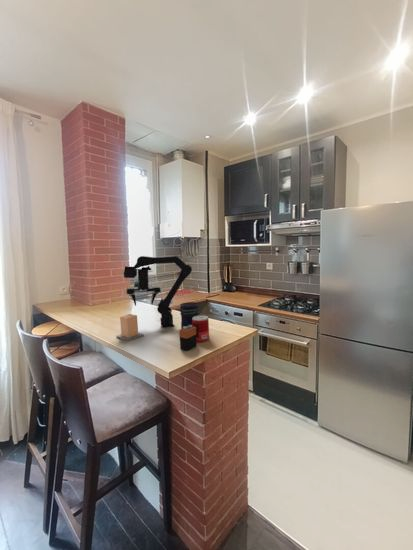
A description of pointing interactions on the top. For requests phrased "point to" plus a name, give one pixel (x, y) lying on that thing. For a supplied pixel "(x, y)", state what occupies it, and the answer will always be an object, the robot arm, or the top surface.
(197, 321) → the canned food
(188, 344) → the battery
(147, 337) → the top surface
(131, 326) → the wooden block
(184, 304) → the storage jar
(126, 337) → the peg stand
